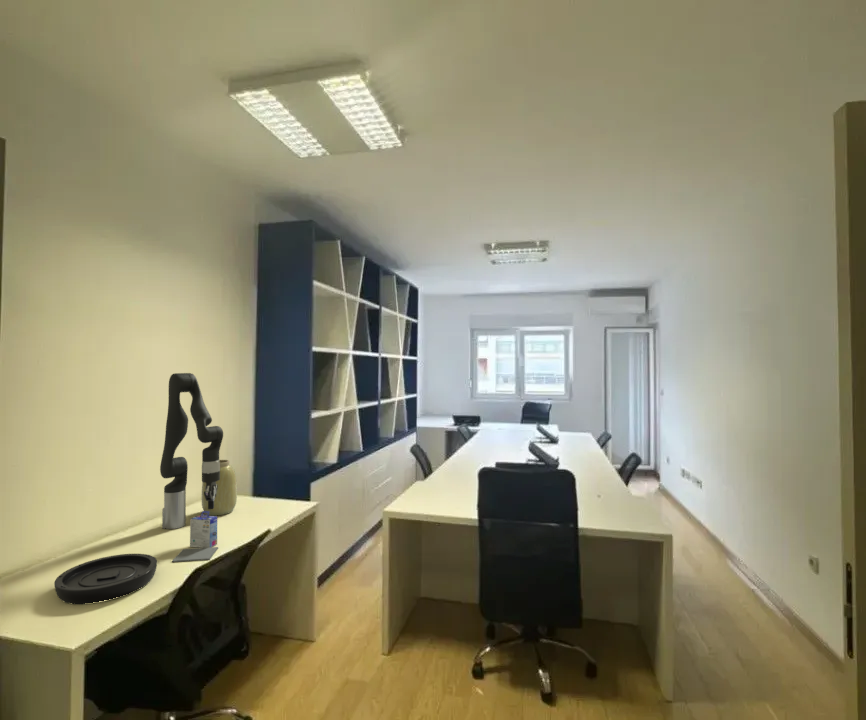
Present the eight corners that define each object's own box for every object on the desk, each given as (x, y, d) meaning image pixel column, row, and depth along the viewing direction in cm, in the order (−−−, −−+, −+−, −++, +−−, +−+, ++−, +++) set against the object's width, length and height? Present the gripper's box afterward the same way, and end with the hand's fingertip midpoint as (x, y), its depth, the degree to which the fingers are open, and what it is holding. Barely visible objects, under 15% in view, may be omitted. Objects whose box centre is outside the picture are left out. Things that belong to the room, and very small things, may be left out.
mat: (172, 562, 186) (172, 560, 186) (183, 550, 198) (183, 549, 198) (209, 559, 188) (209, 558, 188) (218, 548, 200) (218, 546, 200)
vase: (219, 505, 261) (219, 457, 262) (243, 508, 255) (244, 459, 256) (193, 515, 245) (194, 463, 245) (219, 518, 239) (219, 465, 240)
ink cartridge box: (218, 543, 205) (218, 510, 205) (210, 548, 200) (210, 514, 200) (197, 542, 207) (198, 509, 207) (189, 547, 202) (189, 513, 202)
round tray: (162, 562, 187) (70, 576, 175) (162, 547, 187) (70, 560, 175) (150, 596, 159) (39, 615, 147) (150, 579, 159) (40, 596, 147)
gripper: (206, 467, 219) (207, 505, 219) (197, 474, 206) (197, 513, 206) (223, 467, 220) (223, 504, 220) (215, 473, 207) (215, 512, 207)
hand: (211, 508), depth 213 cm, fingers closed
